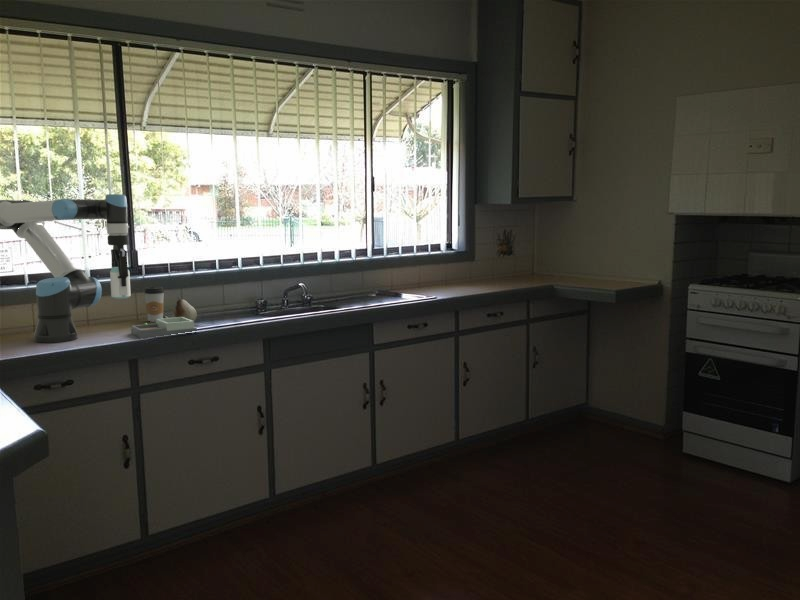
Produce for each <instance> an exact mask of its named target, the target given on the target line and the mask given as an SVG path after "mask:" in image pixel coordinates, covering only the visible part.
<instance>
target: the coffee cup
mask: <svg viewBox="0 0 800 600" xmlns="http://www.w3.org/2000/svg"><path fill="white" fill-rule="evenodd" d="M164 290H165V289H164V288H163V286H149V287H148V286H147V287H145V289H144V296H145V297H144V298H145V306H146V313H147V314H146V317H147V321H148V322H149V321H150V322H149V323H156V319H164V308H165V307H164V297H165V296H164V294H165V291H164Z"/></svg>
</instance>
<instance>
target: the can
mask: <svg viewBox="0 0 800 600" xmlns="http://www.w3.org/2000/svg"><path fill="white" fill-rule="evenodd" d="M109 275H110V276H109V278H110V295H111V298H113V299H114V300H115V299H116V300H118V299H119V300H122V299H129V298H130V297H131V296H132V294H131V292H132V291H131V276H130V275H131V274H130V270H129V269H128V277H127V295H120V291H119V278H118V276H119V269H118V267H112V266H111V269H110V271H109Z"/></svg>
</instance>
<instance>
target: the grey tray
mask: <svg viewBox="0 0 800 600" xmlns="http://www.w3.org/2000/svg"><path fill="white" fill-rule="evenodd" d="M130 327H131V328H130V333H131V335H133V336H135V337H138V338H139V337H140V339H141V338H144V339H149V338H148V337H154V338H157V337H156V336H163V337H165V336H164V335H171V334H178V333H185V332H192V331H197V332H198V328H197V327H195V321H193V320H190V319H187V318H184V317H176V318H174V317H166V318H164V317H163V319H156V322H155V323H147V322H145V323H143V324H138V325H131V326H130Z"/></svg>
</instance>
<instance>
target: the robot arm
mask: <svg viewBox="0 0 800 600" xmlns="http://www.w3.org/2000/svg"><path fill="white" fill-rule="evenodd" d="M21 200H23V201H21ZM127 201H128V200H127V196H126V195H125V194H120V193H119V194H116V193H115V194H113V193H111V194H106V195H105V198H104V199H89V198H88V199H86V198H85V199H77V198H76V199H75V198H74V199H72V198H60V199H54V200H52V199H51V200H41V201H39V200H38V201H34V200H33V201H32V200H27V199H18V200H16V199H14V200H13V199H9V200H8V199H0V230H12V231H13V232H14V233H15V234H16V236H17V237H18V238H20V239H25V241H26V242H27V244H28V245H29V246H30V247H31V250H33V252H34V253H35V254H36V255H37V256H38V258H39V259H40V260H41V262H42V263H43V265H44V266H45V267H46V268H47V269H48V271H49V272H50V273H51V275H52V276H53V277H49V278H45V279H42V280H39V281H38V282H37V283H36V286H35V289H36V290H35V296H36V308H37V323H36V326H35V330H34V334H33V341H34V342H37V343H42V344H43V343H44V344H45V343H48V344H49V343H63V342H69V341H73V340H77V339H78V338H79V337H78V333H79V332H78V330H77V328H76V325H75V323H74V321H73V317H72V310H75V309H76V310H77V309H83V308H89V307H91V306H95V305H97V304H98V303H99V302H100V300H101V298H102V294H103V293H102V290H103V288H102V285H101V283H100V280H98V278H96V277H93V276H88V275H87V273H85V272H84V270H83V269H81V268H77V267H76V266H75V265H74V263H73V262H72V261H71V259H69V257H68V256H67V254H66V253H65V252H64V251H63V250H62V248H61V247H60V245H59V244H58V243H57V241H56V240H55V239H54V238H53V237H52V235H51V234H50V233H49V231H48V230H47V229H46V228H45V224H46V223H45V222H50V221H53V222H54V221H69V220H70V221H71V220H106V233H107V244H108V245H109V246H113V247H112V248H113V249H110V252H111V253H110V255H111V268H112V267H118V269H119V276H118V278H119V291H120V295H127V277H128V270H129V269H128V267H129V266H128V251H127V250H125V246H127V245H129V243H130V241H129V235H127V234H129V229H130V226H129V224H128V202H127ZM18 228H19V229H18Z"/></svg>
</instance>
